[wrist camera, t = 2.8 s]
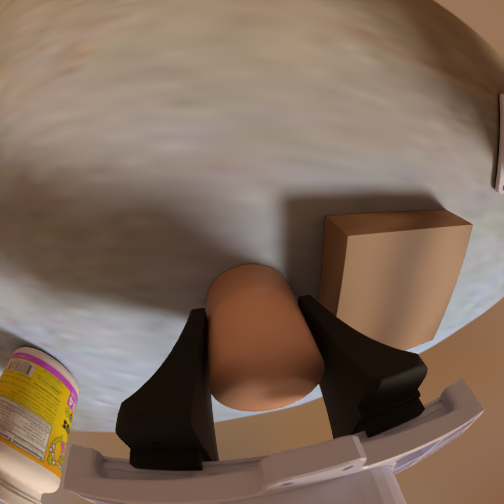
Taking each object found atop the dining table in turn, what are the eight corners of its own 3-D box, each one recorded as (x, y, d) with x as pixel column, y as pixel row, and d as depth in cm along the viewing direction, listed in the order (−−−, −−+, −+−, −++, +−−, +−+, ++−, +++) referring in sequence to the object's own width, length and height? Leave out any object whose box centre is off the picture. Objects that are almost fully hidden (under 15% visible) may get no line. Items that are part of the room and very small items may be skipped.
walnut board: (446, 209, 14) (472, 224, 12) (416, 319, 18) (432, 339, 16) (325, 215, 13) (347, 236, 11) (312, 346, 17) (324, 373, 15)
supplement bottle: (66, 403, 18) (44, 519, 6) (10, 362, 15) (-32, 476, 3) (93, 380, 16) (67, 532, 5) (24, 329, 14) (-37, 476, 2)
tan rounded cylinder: (292, 259, 14) (332, 332, 9) (289, 326, 16) (317, 400, 11) (200, 269, 13) (199, 351, 8) (212, 336, 15) (217, 416, 11)
